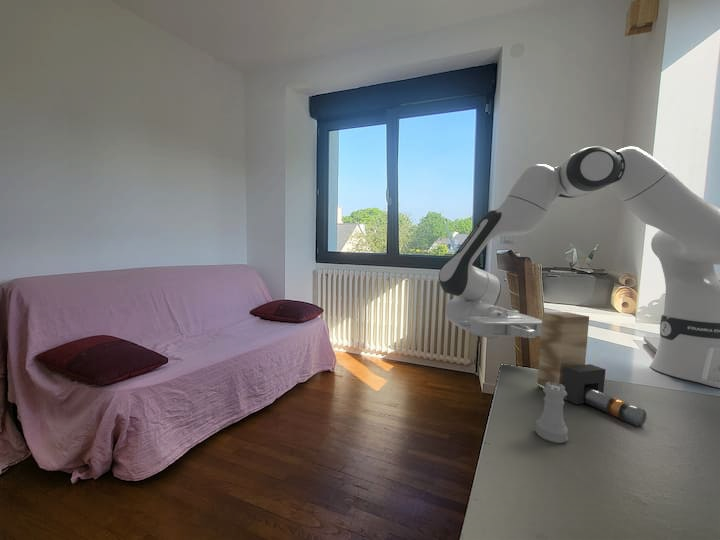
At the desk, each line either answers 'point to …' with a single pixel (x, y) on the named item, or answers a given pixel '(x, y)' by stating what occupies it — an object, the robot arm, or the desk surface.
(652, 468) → the desk surface
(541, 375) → the tall wooden block
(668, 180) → the robot arm
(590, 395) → the grey metal rod
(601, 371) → the black block
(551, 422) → the rook chess piece
